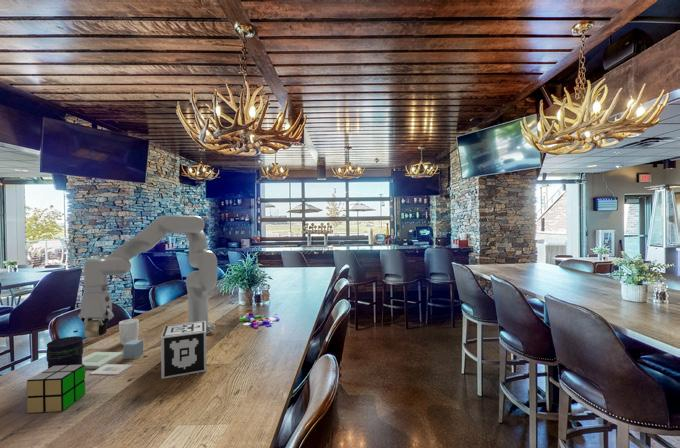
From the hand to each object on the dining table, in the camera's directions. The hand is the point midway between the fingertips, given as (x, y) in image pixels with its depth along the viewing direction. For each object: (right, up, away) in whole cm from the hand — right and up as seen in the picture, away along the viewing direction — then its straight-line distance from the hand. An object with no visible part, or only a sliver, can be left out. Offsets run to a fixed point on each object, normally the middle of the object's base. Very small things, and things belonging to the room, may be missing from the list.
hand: (96, 333), depth 131 cm
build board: (0, -11, 0) cm, 11 cm away
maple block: (0, -1, 0) cm, 1 cm away
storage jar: (+3, -12, -18) cm, 22 cm away
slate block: (+12, -11, +5) cm, 17 cm away
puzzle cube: (+11, -12, -31) cm, 35 cm away
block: (+39, -11, -5) cm, 41 cm away
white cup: (0, -12, +21) cm, 24 cm away
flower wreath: (+54, -12, +53) cm, 76 cm away
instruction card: (+12, -11, -8) cm, 18 cm away
